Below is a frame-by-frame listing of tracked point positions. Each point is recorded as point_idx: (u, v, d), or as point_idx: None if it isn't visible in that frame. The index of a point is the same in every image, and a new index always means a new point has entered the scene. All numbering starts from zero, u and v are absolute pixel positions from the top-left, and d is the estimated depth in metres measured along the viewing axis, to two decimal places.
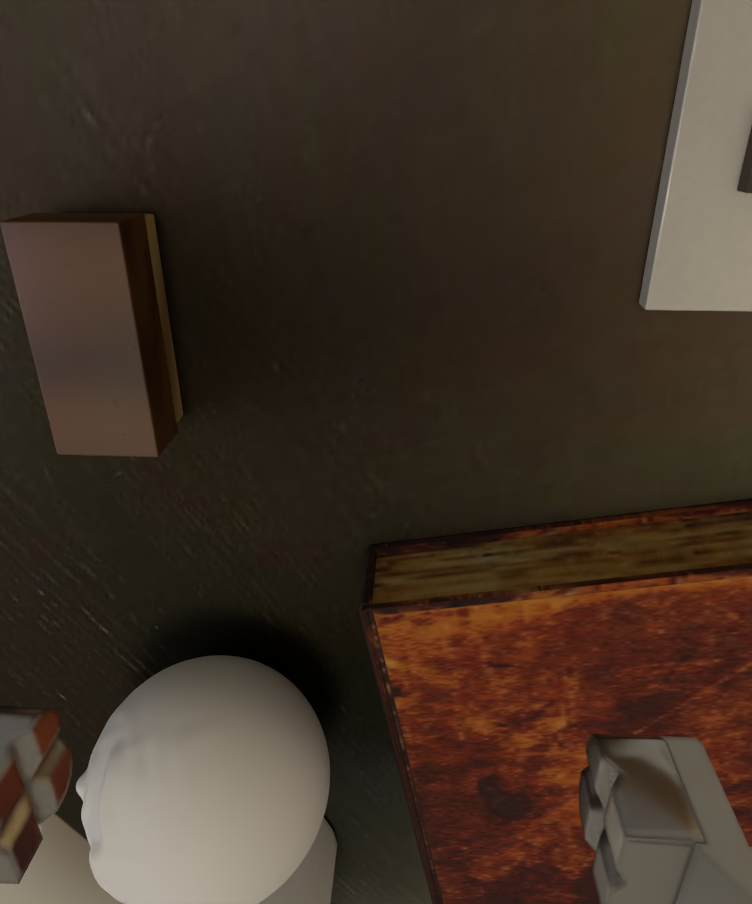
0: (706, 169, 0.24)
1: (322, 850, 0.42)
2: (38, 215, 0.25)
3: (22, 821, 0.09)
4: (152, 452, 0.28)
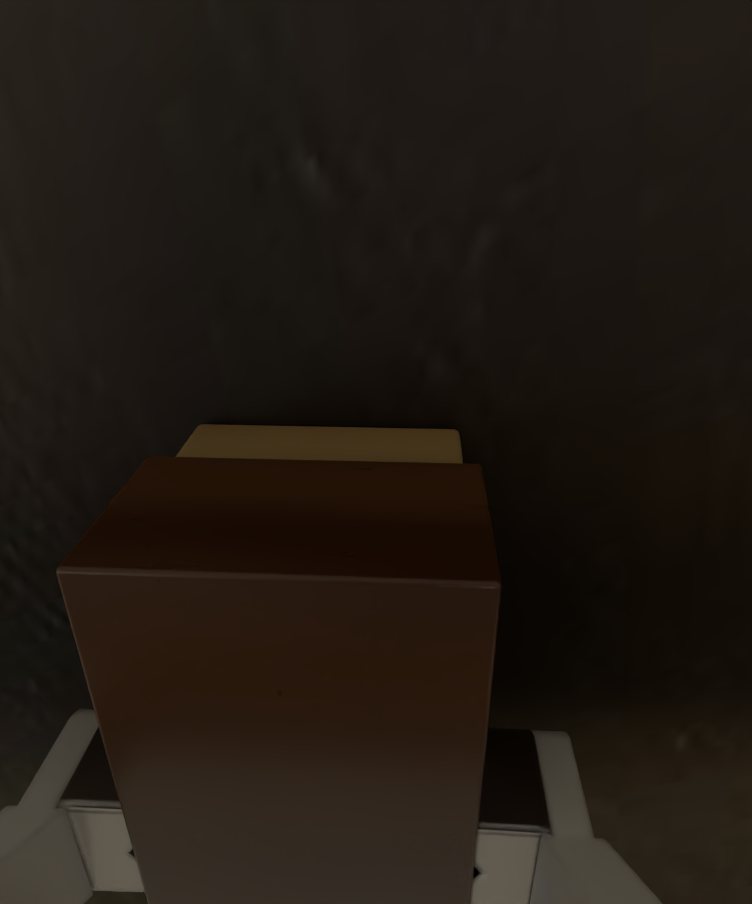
0: None
1: None
2: (167, 486, 0.08)
3: None
4: None
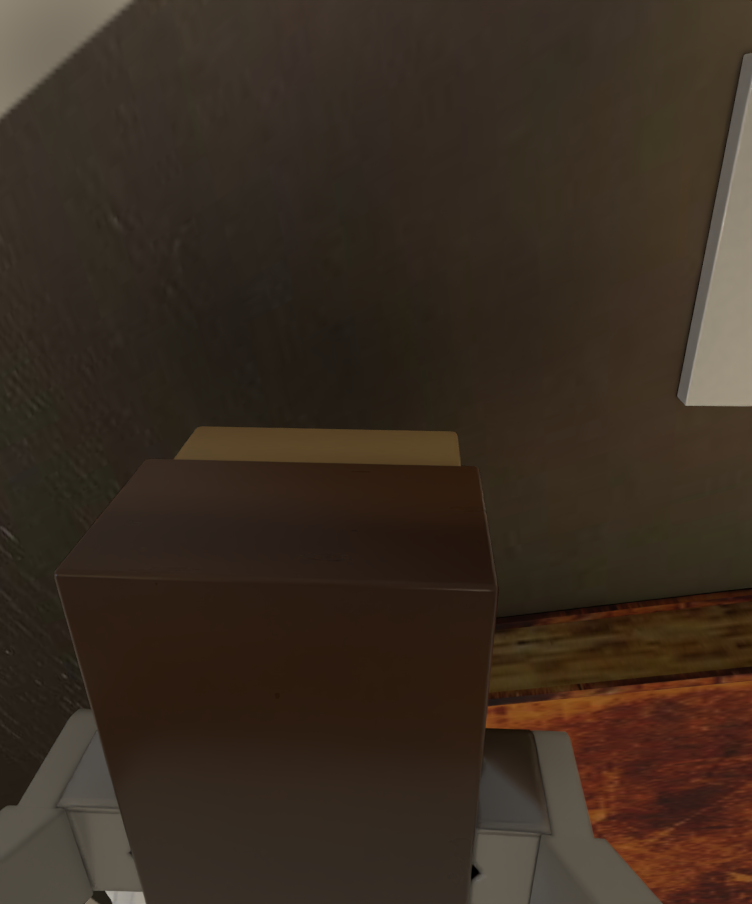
0: (749, 270, 0.24)
1: None
2: (165, 488, 0.08)
3: None
4: None
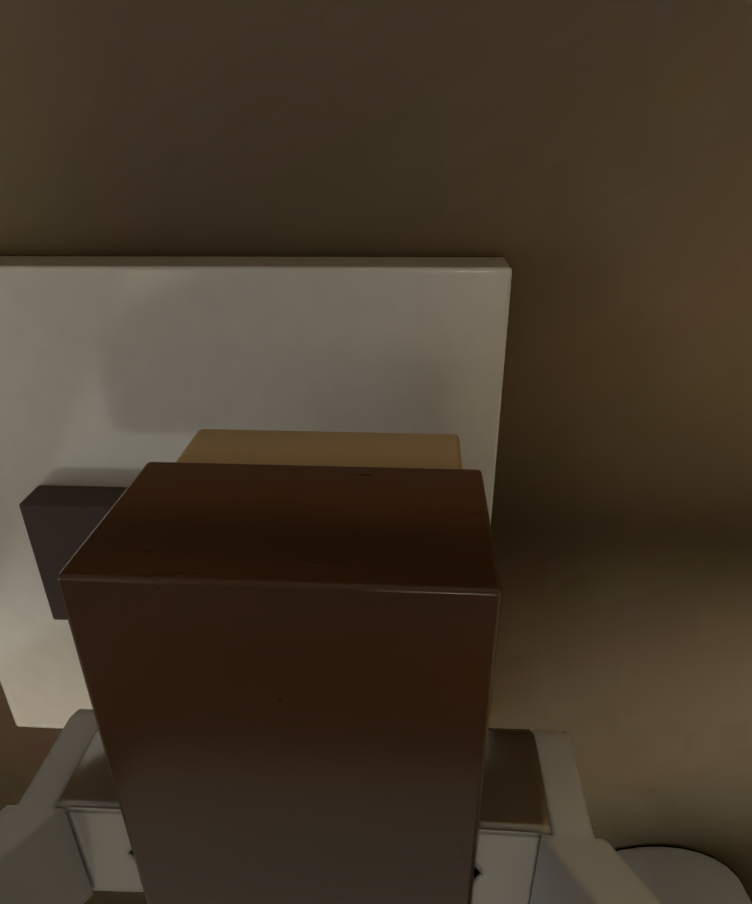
0: (10, 569, 0.15)
1: None
2: (168, 491, 0.08)
3: None
4: None
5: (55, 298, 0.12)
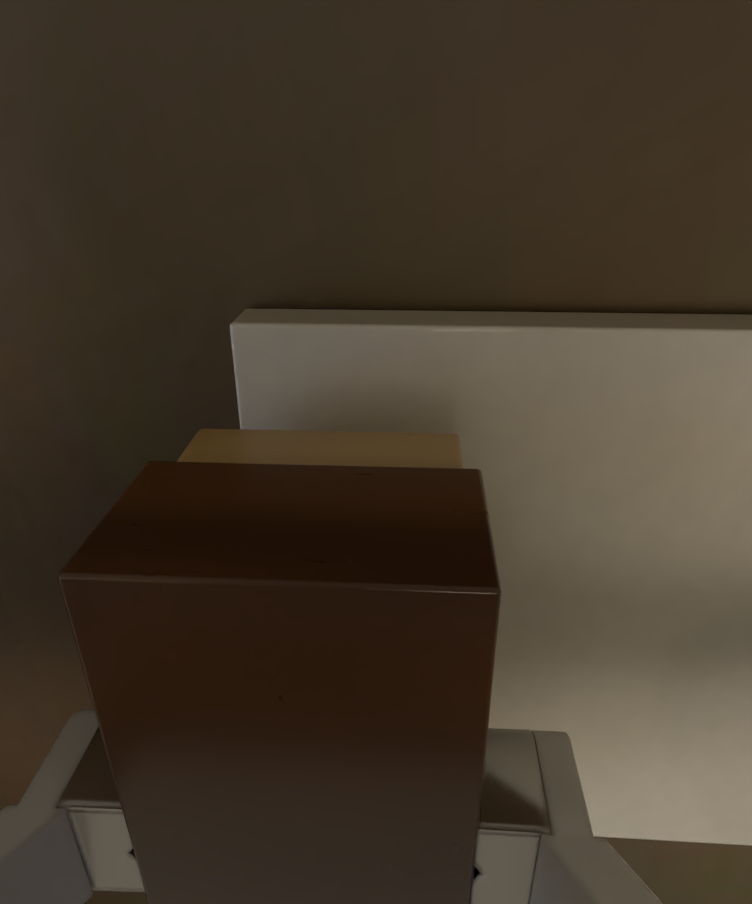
0: None
1: None
2: (169, 490, 0.08)
3: None
4: None
5: (471, 362, 0.10)
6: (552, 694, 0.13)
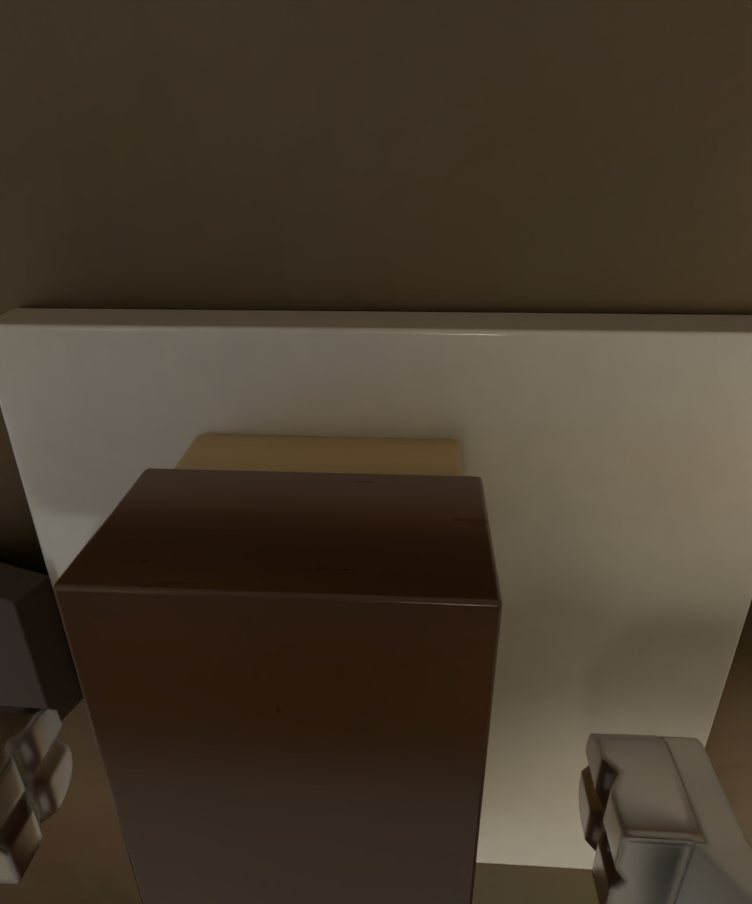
0: None
1: None
2: (166, 499, 0.08)
3: (22, 821, 0.09)
4: None
5: (239, 366, 0.10)
6: None
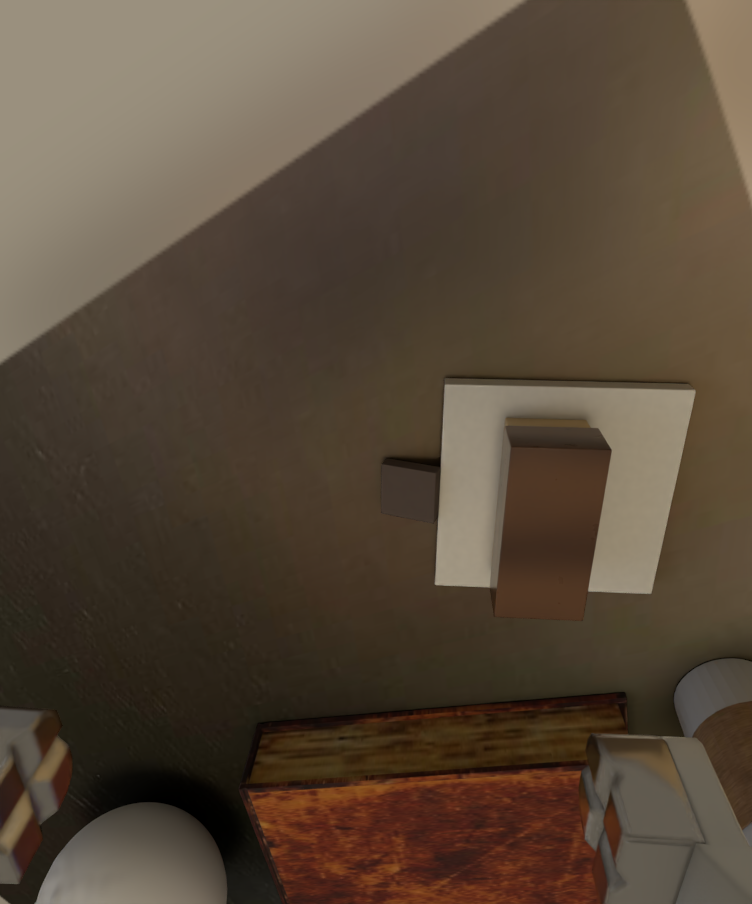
0: (462, 505, 0.35)
1: None
2: (518, 432, 0.31)
3: (22, 821, 0.09)
4: (579, 617, 0.33)
5: (522, 397, 0.32)
6: None
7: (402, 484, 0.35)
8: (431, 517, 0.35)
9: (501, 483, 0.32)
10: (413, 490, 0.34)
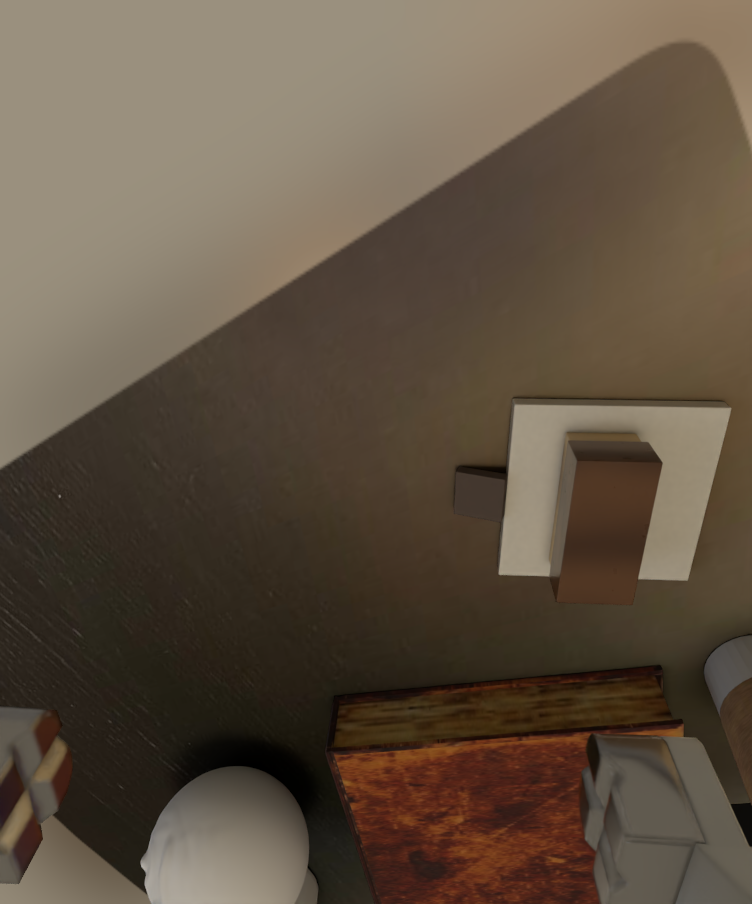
0: (526, 506, 0.40)
1: (307, 894, 0.58)
2: (581, 446, 0.36)
3: (22, 821, 0.09)
4: (629, 602, 0.38)
5: (581, 414, 0.37)
6: None
7: (474, 489, 0.40)
8: (499, 517, 0.40)
9: (564, 489, 0.37)
10: (483, 494, 0.40)
